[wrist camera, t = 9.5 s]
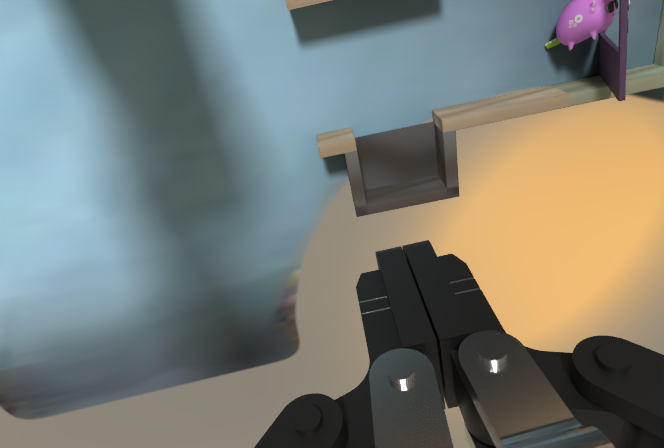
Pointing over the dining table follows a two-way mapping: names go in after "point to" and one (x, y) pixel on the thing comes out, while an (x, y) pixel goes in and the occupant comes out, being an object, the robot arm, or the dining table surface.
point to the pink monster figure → (590, 19)
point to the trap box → (452, 137)
